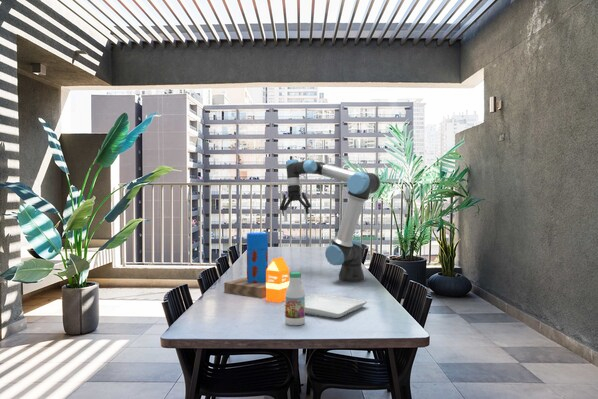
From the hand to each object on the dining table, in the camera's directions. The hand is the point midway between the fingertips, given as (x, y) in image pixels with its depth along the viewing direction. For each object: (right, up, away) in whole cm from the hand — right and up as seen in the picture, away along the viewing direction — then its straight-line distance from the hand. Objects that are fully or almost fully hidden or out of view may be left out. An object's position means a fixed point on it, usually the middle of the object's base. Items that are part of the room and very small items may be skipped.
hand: (295, 220), depth 283 cm
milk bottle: (0, -36, -97) cm, 103 cm away
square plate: (+14, -36, -76) cm, 85 cm away
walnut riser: (-20, -35, -37) cm, 55 cm away
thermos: (-20, -30, -37) cm, 52 cm away
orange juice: (-8, -36, -57) cm, 67 cm away
